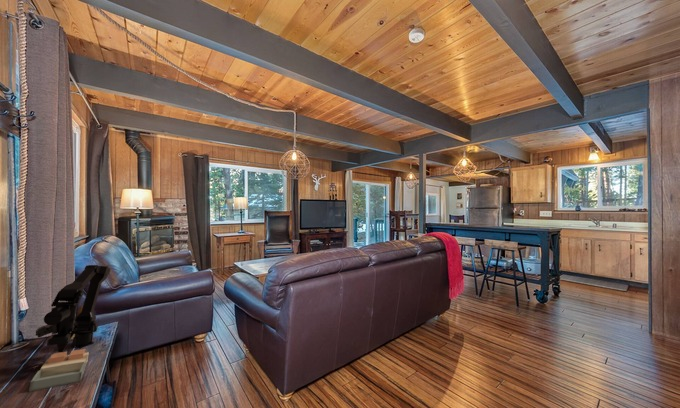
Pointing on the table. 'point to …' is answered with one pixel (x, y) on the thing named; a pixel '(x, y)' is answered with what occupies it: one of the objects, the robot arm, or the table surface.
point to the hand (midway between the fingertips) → (60, 352)
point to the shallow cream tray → (63, 366)
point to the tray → (55, 379)
